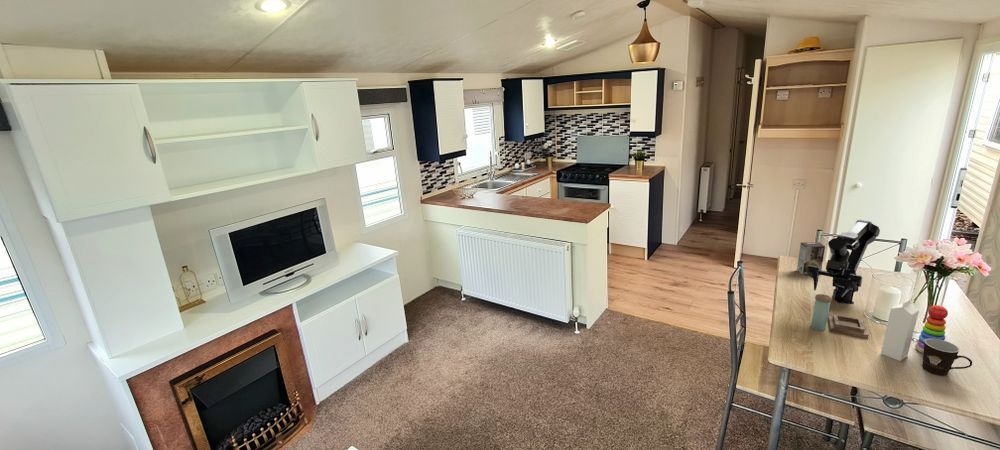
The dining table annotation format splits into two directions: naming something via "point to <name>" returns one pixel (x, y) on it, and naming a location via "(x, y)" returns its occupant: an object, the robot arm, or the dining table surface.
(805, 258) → the coffee box
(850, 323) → the brown wooden square tray
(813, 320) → the cup
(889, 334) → the milk
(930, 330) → the stacking toy
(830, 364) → the dining table surface
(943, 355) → the coffee mug
